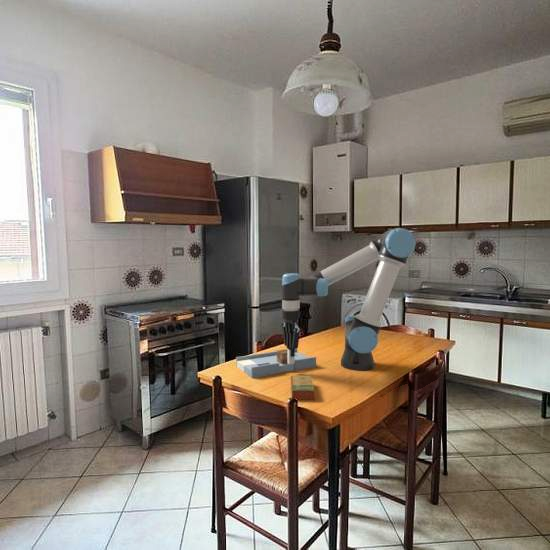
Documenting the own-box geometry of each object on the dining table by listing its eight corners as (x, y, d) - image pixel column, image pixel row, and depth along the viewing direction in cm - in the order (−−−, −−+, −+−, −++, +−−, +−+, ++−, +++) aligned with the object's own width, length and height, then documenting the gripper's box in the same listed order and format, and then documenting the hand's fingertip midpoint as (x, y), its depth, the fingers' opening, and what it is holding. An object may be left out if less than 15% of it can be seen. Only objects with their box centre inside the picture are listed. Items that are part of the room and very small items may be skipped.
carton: (311, 385, 160) (311, 375, 159) (315, 401, 144) (315, 390, 143) (290, 385, 160) (290, 375, 159) (291, 401, 144) (291, 389, 143)
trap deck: (316, 366, 182) (316, 357, 182) (252, 378, 168) (252, 367, 167) (296, 357, 198) (296, 348, 198) (236, 366, 183) (236, 357, 183)
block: (291, 362, 179) (291, 351, 179) (282, 364, 177) (282, 353, 176) (286, 359, 183) (286, 349, 183) (276, 361, 181) (276, 350, 181)
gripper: (306, 311, 167) (306, 366, 169) (290, 306, 179) (290, 358, 181) (291, 312, 164) (291, 368, 166) (276, 308, 175) (276, 360, 177)
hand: (291, 363), depth 173 cm, fingers closed
